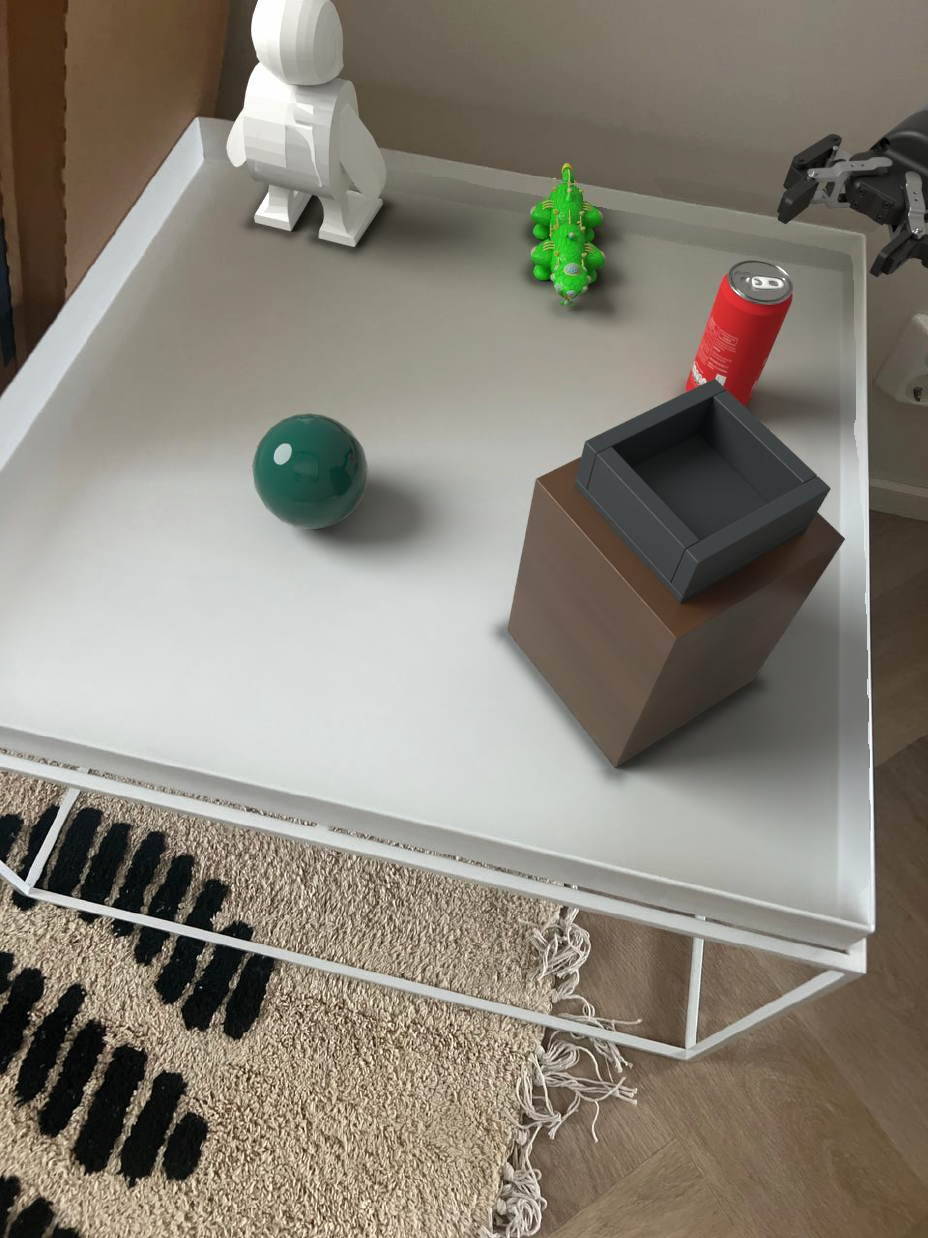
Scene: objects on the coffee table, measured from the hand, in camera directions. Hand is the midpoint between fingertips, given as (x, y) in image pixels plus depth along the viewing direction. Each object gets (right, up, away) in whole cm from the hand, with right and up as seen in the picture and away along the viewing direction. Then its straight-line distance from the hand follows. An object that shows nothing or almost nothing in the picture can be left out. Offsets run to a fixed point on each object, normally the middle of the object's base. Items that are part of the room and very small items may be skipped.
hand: (830, 238), depth 76 cm
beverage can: (-8, -12, +4) cm, 15 cm away
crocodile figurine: (-19, +3, +13) cm, 24 cm away
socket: (-16, -23, -23) cm, 36 cm away
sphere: (-39, -21, -4) cm, 45 cm away
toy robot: (-42, +7, +13) cm, 45 cm away
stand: (-17, -32, -9) cm, 37 cm away
